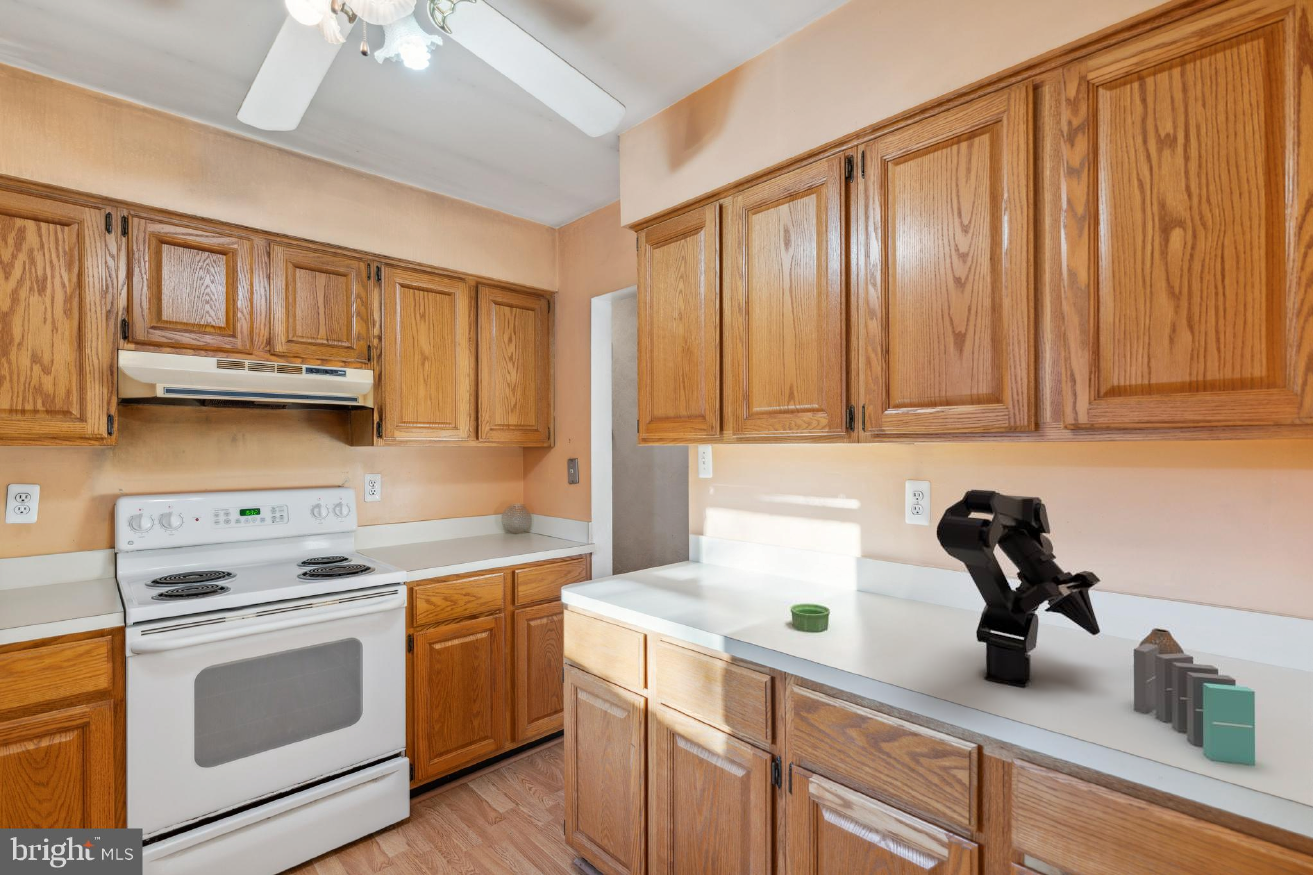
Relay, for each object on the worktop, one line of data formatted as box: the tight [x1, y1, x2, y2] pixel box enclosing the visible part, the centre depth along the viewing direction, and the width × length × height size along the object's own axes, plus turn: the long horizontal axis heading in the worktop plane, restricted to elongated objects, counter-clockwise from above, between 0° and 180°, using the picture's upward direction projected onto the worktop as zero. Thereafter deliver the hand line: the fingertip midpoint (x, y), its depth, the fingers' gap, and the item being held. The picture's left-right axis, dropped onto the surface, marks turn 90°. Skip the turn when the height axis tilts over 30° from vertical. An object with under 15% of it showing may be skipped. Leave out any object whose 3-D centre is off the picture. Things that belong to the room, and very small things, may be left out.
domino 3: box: [1171, 662, 1219, 734], centre depth 91 cm, size 2×5×10 cm, turn 74°
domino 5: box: [1202, 683, 1256, 766], centre depth 83 cm, size 2×5×10 cm, turn 74°
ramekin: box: [790, 603, 831, 633], centre depth 142 cm, size 9×9×4 cm
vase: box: [1138, 627, 1185, 655], centre depth 111 cm, size 7×7×9 cm
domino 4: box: [1186, 672, 1237, 748], centre depth 87 cm, size 2×5×10 cm, turn 74°
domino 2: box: [1154, 652, 1194, 724], centre depth 95 cm, size 2×5×10 cm, turn 97°
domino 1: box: [1133, 643, 1159, 715], centre depth 99 cm, size 2×5×10 cm, turn 122°
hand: (1097, 633), depth 105 cm, fingers closed
